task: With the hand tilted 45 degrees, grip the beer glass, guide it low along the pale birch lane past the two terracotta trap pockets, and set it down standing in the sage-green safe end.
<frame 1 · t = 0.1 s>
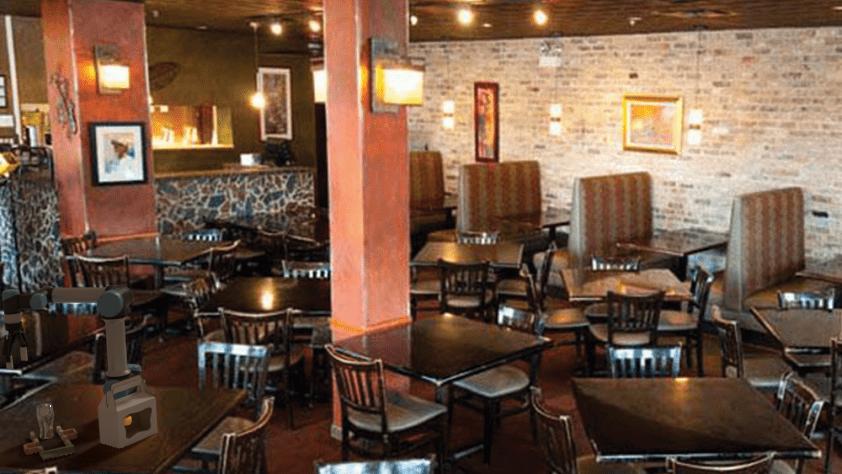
hand: (17, 364, 403), 28 cm above the table, tool pointing down, fingers open, 13 cm apart
trap pockets: (51, 443, 378), on the table
beer glass: (47, 437, 386), on the table
lane: (51, 443, 378), on the table
gable box: (129, 438, 384), on the table
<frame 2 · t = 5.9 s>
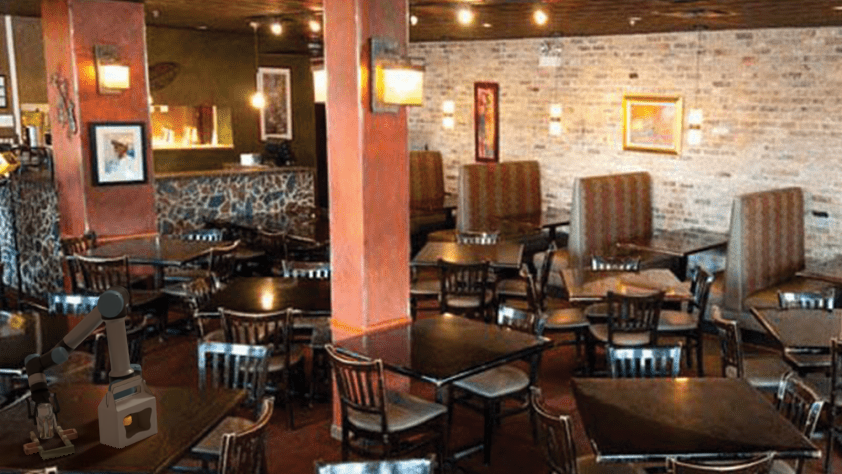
hand: (47, 429, 382), 5 cm above the table, tool tilted 45°, fingers closed on beer glass, 6 cm apart
beer glass: (47, 437, 386), on the table, touching gripper
everything else where it was.
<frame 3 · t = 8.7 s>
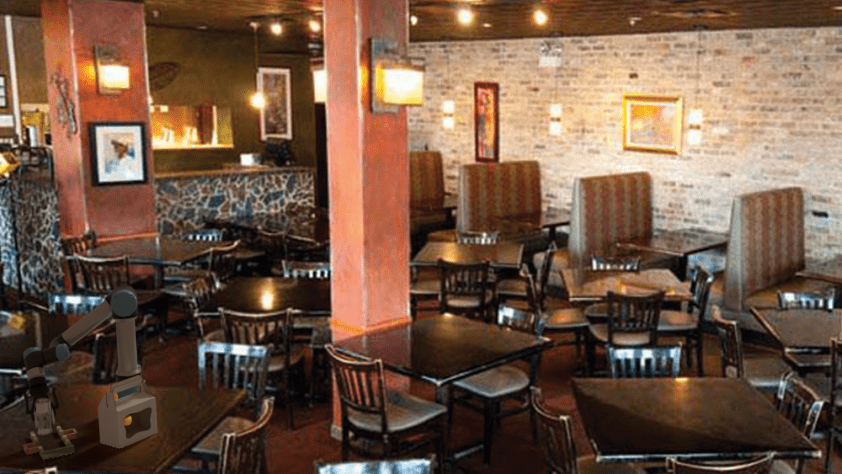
hand: (45, 424, 374), 10 cm above the table, tool tilted 45°, fingers closed on beer glass, 6 cm apart
beer glass: (45, 432, 378), point 5 cm above the table, touching gripper
everything else where it was.
when the fingers open (6 cm above the table, at t = 11.8 s): beer glass stays where it is, on the table.
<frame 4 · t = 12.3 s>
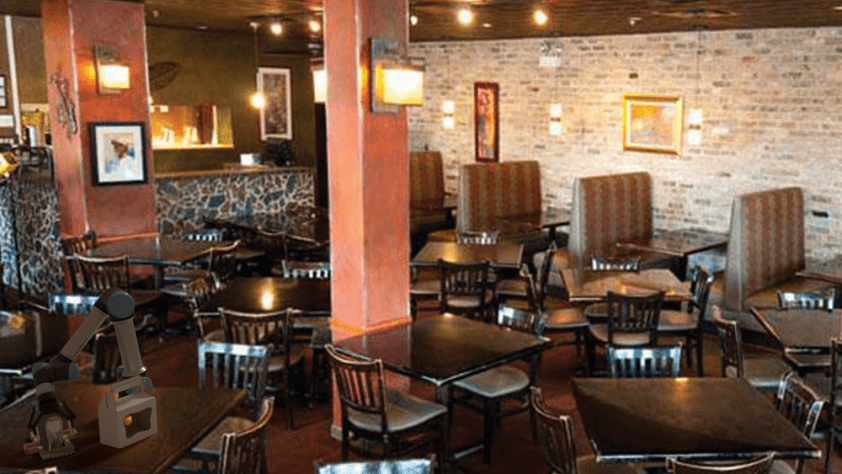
hand: (55, 438, 367), 7 cm above the table, tool tilted 45°, fingers open, 13 cm apart
beer glass: (56, 451, 370), on the table
everything else where it was.
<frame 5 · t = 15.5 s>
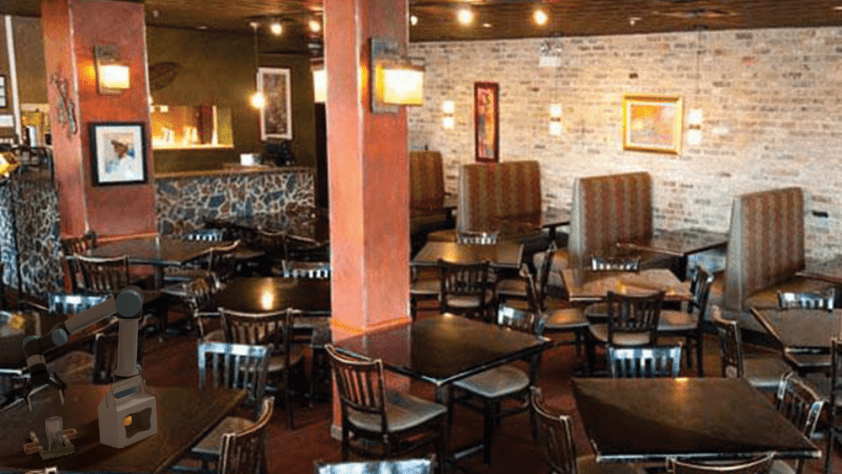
hand: (47, 406, 378), 16 cm above the table, tool tilted 45°, fingers open, 13 cm apart
nothing on the table moved.
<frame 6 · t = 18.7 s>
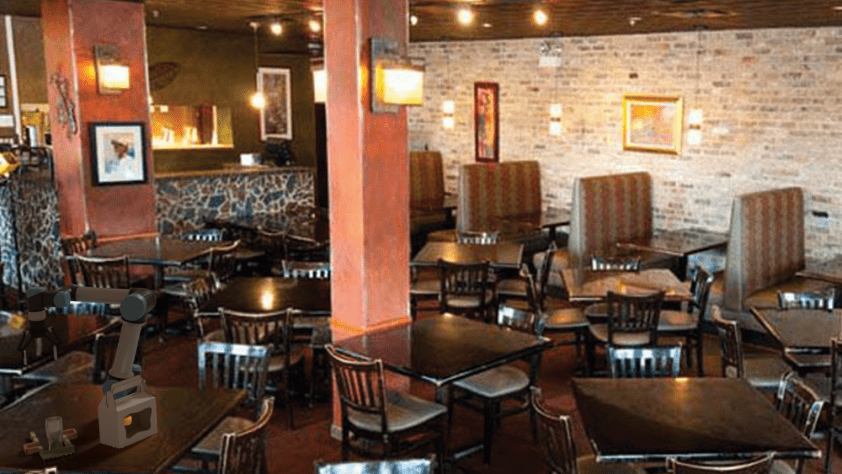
hand: (40, 361, 404), 29 cm above the table, tool pointing down, fingers open, 13 cm apart
nothing on the table moved.
at the end: beer glass inside the target area (0.3 cm from its centre), on the table; beer glass tilted 0°; the gripper is holding nothing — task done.
